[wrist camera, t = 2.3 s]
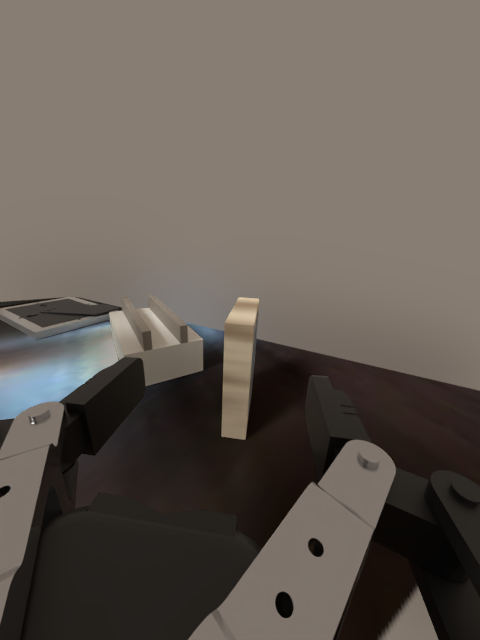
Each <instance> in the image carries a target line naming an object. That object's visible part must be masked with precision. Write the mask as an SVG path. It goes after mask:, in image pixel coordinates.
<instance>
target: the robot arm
mask: <svg viewBox="0 0 480 640" xmlns="http://www.w3.org/2000/svg"><path fill="white" fill-rule="evenodd" d="M145 389H146V384H145V375H144V365H143V360H142V359H141V358H136V357H123V358H122V359H120V360H119V361H118V362H116V363H115V364H114V365H112V366H110V367H108V368H106V369H103V370H101V371H100V372H98V373H97V374H96V375H94V376H93V377H92V378H90V379H89V380H88V381H86V382H85V384H82V385H81V386H80V387H78V388H77V389H76V390H74V391H73V392H72V393H71V394H69V395H68V396H67V397H65V398H64V399H63V400H61V401H60V402H47V403H42V404H39V405H36V406H33V407H31V408H29V409H27V410H25V411H24V412H22V413H21V414H19V415H18V416H17V417H16V418H15V419H6V420H0V640H337V638H338V635H339V632H340V630H341V627H342V624H343V621H344V618H345V616H346V613H347V610H348V607H349V604H350V601H351V599H352V596H353V593H354V590H355V588H356V585H357V582H358V580H359V577H360V574H361V571H362V569H363V566H364V563H365V560H366V558H367V555H368V552H369V549H370V547H371V544H372V541H374V542H376V543H378V544H380V545H382V546H384V547H386V548H388V549H390V550H392V551H394V552H396V553H398V554H400V555H401V556H403V557H405V558H407V559H408V561H409V563H410V566H411V569H412V571H413V574H414V577H415V579H416V582H417V584H418V587H419V590H420V592H421V595H422V597H423V600H424V602H425V605H426V607H427V610H428V613H429V616H430V618H431V621H432V623H433V626H434V629H435V631H436V634H437V637H438V639H439V640H480V486H479V485H477V484H476V483H474V482H473V481H471V480H470V479H468V478H466V477H464V476H462V475H459V474H457V473H454V472H451V471H446V470H438V471H435V472H433V473H432V474H431V477H430V479H429V480H428V479H425V478H423V477H420V476H417V475H415V474H412V473H409V472H407V471H404V470H402V469H400V468H398V467H396V466H395V464H394V462H393V460H392V459H391V458H390V456H389V455H388V454H387V453H386V452H385V451H384V450H382V449H381V448H379V447H378V446H376V445H374V444H372V442H371V440H370V438H369V436H368V434H367V432H366V430H365V428H364V426H363V424H362V422H361V420H360V418H359V416H357V412H356V410H355V408H354V406H353V404H352V402H351V400H350V398H349V397H348V396H347V395H346V394H345V393H344V392H343V391H342V390H341V389H333V387H332V385H331V382H330V380H329V378H328V377H326V376H316V375H310V377H309V383H308V389H307V396H306V403H305V419H306V424H307V429H308V434H309V439H310V445H311V450H312V455H313V460H314V465H315V470H316V476H317V481H318V484H317V483H315V482H312V483H310V484H309V485H308V487H307V488H306V489H305V491H304V492H303V493H302V495H301V496H300V498H299V499H298V500H297V502H296V503H295V505H294V506H293V507H292V509H291V510H290V511H289V513H288V514H287V516H286V517H285V518H284V520H283V521H282V522H281V524H280V525H279V527H278V528H277V529H276V531H275V532H274V533H273V535H272V536H271V538H270V539H269V540H268V542H267V543H266V544H265V546H264V547H263V549H262V548H261V547H260V546H259V545H258V544H257V543H256V542H255V541H254V540H253V539H251V538H250V537H249V536H247V535H246V534H244V533H243V532H241V531H239V530H237V515H231V514H225V513H219V512H213V511H208V510H194V511H186V512H177V513H169V514H161V513H158V512H156V511H155V510H153V509H151V508H149V507H147V506H146V505H144V504H142V503H140V502H138V501H136V500H135V499H133V498H130V497H124V496H118V495H112V494H106V493H100V492H99V493H98V495H97V496H96V498H95V499H94V501H93V502H92V503H91V505H90V506H86V507H81V508H78V509H75V498H76V486H77V474H78V461H77V458H78V457H79V456H80V455H81V454H87V455H94V456H95V455H96V453H97V452H98V451H99V450H100V449H101V447H102V446H103V445H104V444H105V443H106V441H107V440H108V439H109V438H110V436H111V435H112V434H113V433H114V432H115V430H116V429H117V428H118V427H119V426H120V424H121V423H122V422H123V421H124V420H125V418H126V417H127V416H128V415H129V414H130V412H131V411H132V410H133V409H134V408H135V406H136V405H137V404H138V403H139V401H140V400H141V399H142V398H143V396H144V393H145Z"/></svg>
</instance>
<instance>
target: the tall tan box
mask: <svg viewBox="0 0 480 640" xmlns="http://www.w3.org/2000/svg"><path fill="white" fill-rule="evenodd" d="M258 309H259V299H254V298H242V297H239V298H238V300H237V302H236V304H235V305H234V307H233V309H232V311H231V313H230V314H229V316H228V318H227V320H226V322H225V331H224V365H223V399H222V434H221V437H228V438H235V439H243V440H246V432H247V424H248V416H249V409H250V401H251V393H252V385H253V374H254V361H255V348H256V336H257V323H258Z"/></svg>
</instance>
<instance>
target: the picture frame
mask: <svg viewBox="0 0 480 640" xmlns="http://www.w3.org/2000/svg"><path fill="white" fill-rule="evenodd" d="M117 309H119V308H117V307H114V306H110V305H107V304H100V305H98V304H95V303H91V302H88V301H85V300H82V299H79V298H75V297H66V298H60V299H54V300H48V301H41V302H35V303H29V304H23V305H17V306H11V307H5V308H0V320H2V321H4V322H6V323H8V324H9V325H11V326H13V327H15V328H17V329H19V330H20V331H22V332H24V333H26V334H28V335H29V336H31V337H33V338H35V339H37V340H38V339H41V338H45V337H49V336H52V335H56V334H60V333H63V332H67V331H71V330H74V329H78V328H82V327H85V326H89V325H93V324H96V323H100V322H104V321H107V320H110V317H109V312H115V311H117Z"/></svg>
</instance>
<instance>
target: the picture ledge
mask: <svg viewBox="0 0 480 640" xmlns="http://www.w3.org/2000/svg"><path fill="white" fill-rule="evenodd" d="M121 303H122V311H115V312H109V317H110V324H111V331H112V338H113V341H114V344H115V348H116V351H117V354H118V357H119V360H120V359H122V358H123V357H136V358H141V359H142V360H143V365H144V375H145V384H146V386H149V385H153V384H156V383H160V382H163V381H167V380H171V379H174V378H178V377H181V376H185V375H189V374H192V373H196V372H199V371H203V339H202V338H201V337H200V336H199V335H198V334H197V333H195V332H194V331H193V330H192V329H191V328H190V327H189V326H188V325H187V324H186V323H185V322H184V321H182V320H181V319H180V318H179V317H178V316H177V315H175V314H174V313H173V312H172V311H171V310H170V309H169V308H168V307H167V306H165V305H164V304H163V303H162V302H161V301H160V300H159V299H158V298H156V297H155V296H154V295H148V304H149V308H142V309H135V308H134V306H133V305H132V303H131V302H130V301H129V299H128V298H127V297H121Z"/></svg>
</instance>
